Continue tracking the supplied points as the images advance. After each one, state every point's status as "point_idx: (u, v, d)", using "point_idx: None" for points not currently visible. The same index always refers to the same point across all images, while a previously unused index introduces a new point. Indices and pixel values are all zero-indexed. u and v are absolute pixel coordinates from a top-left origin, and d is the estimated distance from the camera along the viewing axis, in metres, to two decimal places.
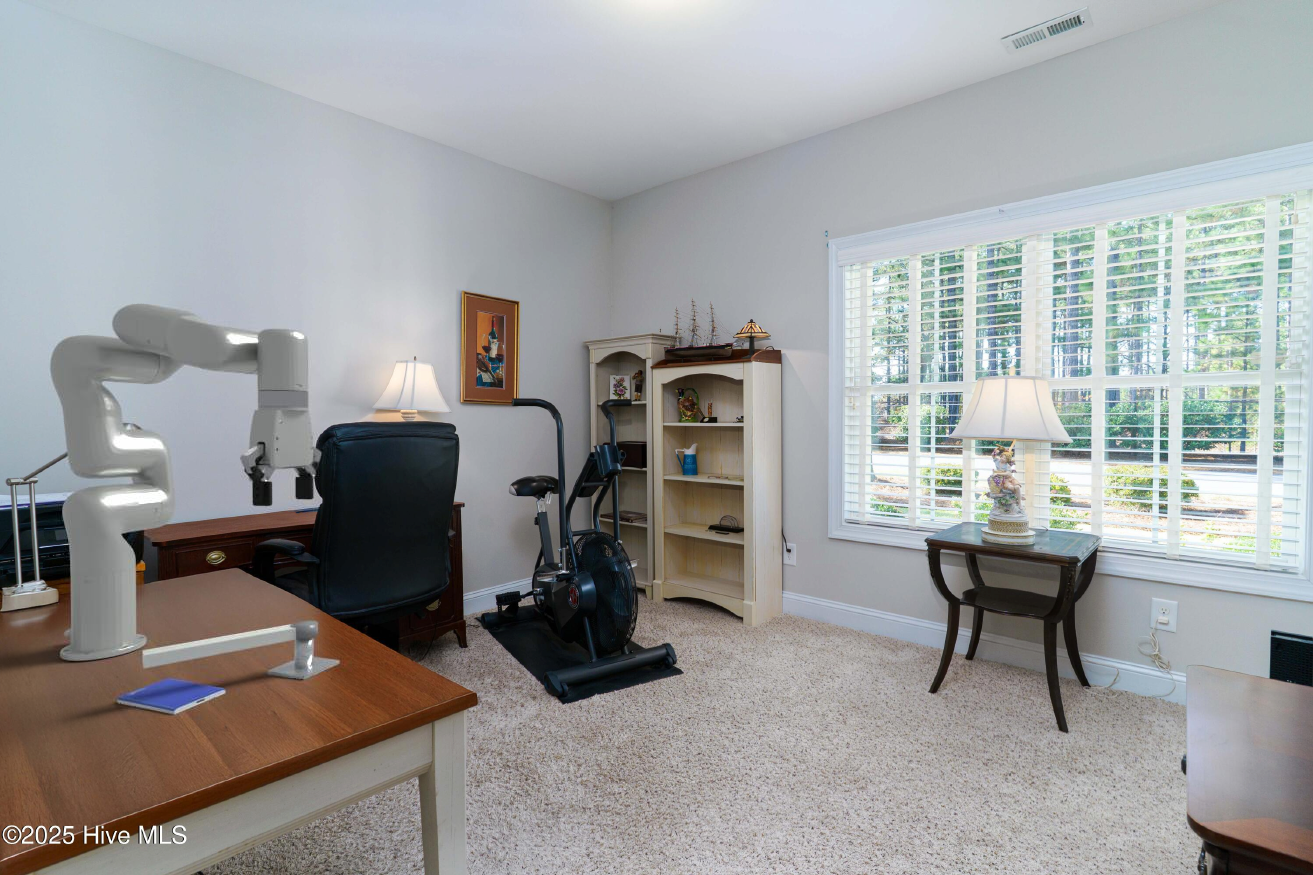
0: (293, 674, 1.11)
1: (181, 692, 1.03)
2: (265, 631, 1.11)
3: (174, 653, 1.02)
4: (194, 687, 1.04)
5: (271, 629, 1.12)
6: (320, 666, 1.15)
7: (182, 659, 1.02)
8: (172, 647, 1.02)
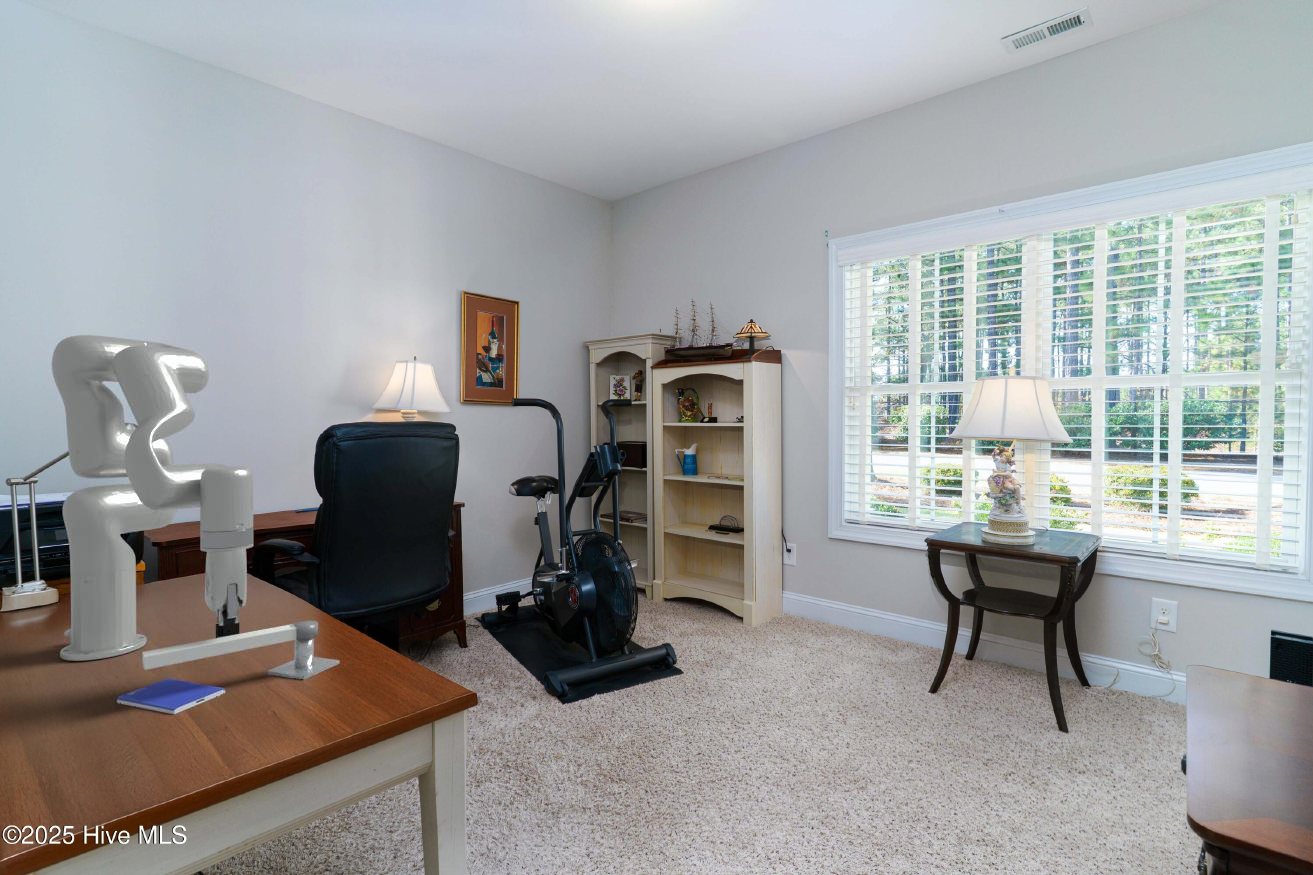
0: (293, 674, 1.11)
1: (181, 691, 1.03)
2: (265, 631, 1.11)
3: (175, 654, 1.01)
4: (194, 687, 1.04)
5: (272, 630, 1.12)
6: (320, 666, 1.15)
7: (183, 660, 1.02)
8: (172, 649, 1.02)
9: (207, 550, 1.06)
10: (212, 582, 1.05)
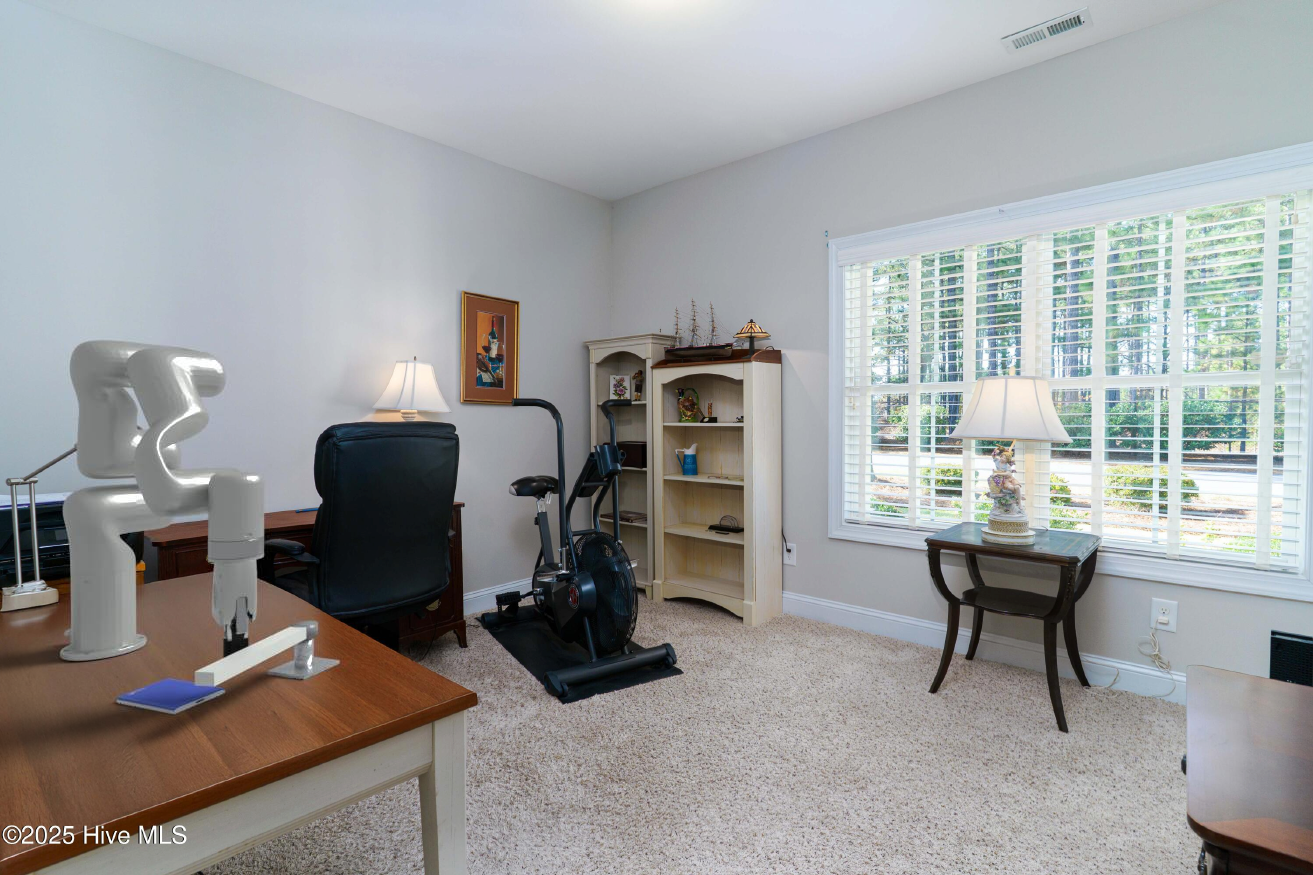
0: (293, 674, 1.11)
1: (181, 691, 1.03)
2: (282, 635, 1.09)
3: (233, 666, 0.96)
4: (194, 687, 1.04)
5: (284, 633, 1.10)
6: (320, 666, 1.15)
7: (239, 671, 0.97)
8: (224, 662, 0.96)
9: (215, 561, 1.00)
10: (220, 595, 0.99)
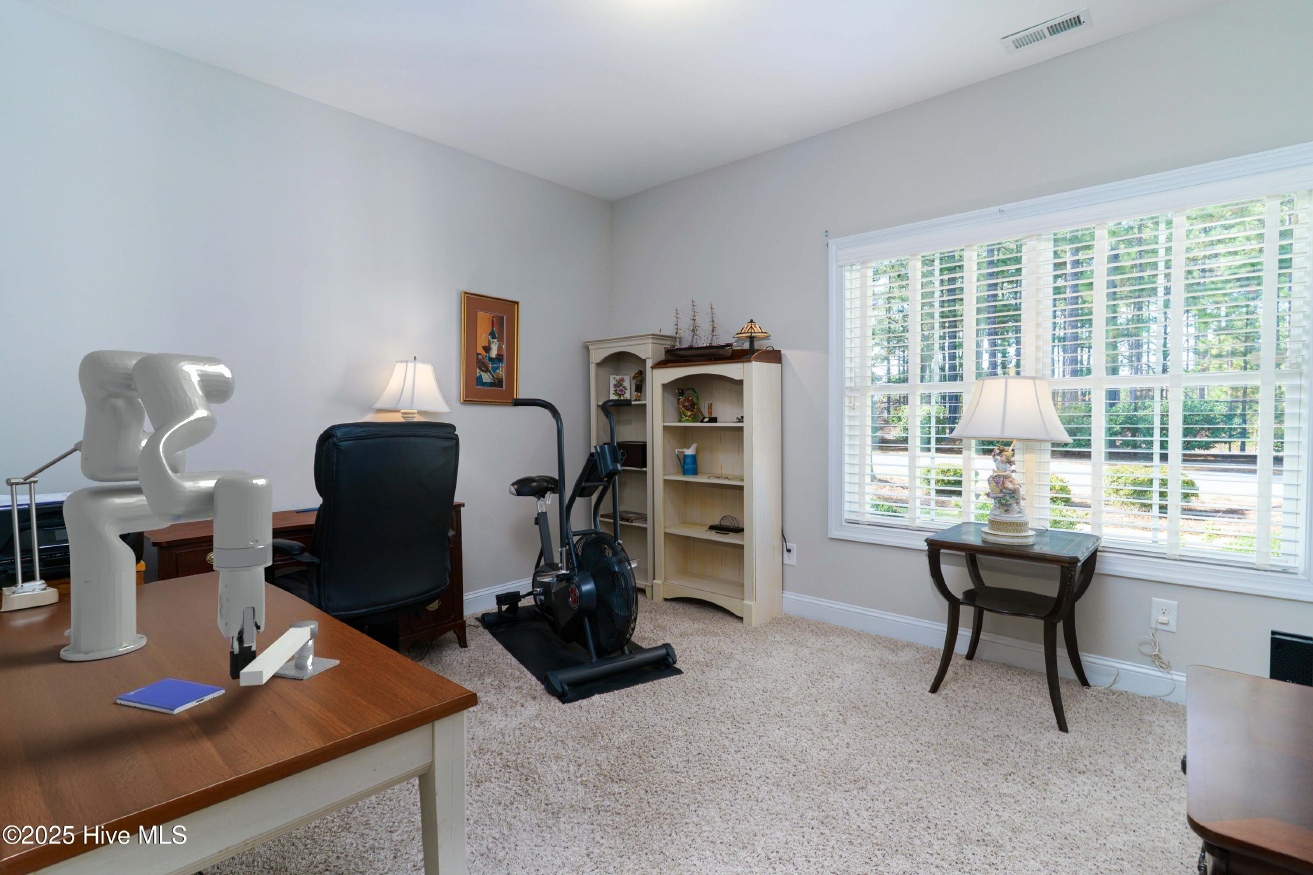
0: (293, 674, 1.11)
1: (181, 691, 1.03)
2: (293, 634, 1.09)
3: (273, 664, 0.97)
4: (194, 687, 1.04)
5: (293, 633, 1.10)
6: (320, 666, 1.15)
7: (275, 670, 0.98)
8: (262, 662, 0.97)
9: (221, 569, 0.94)
10: (226, 606, 0.93)
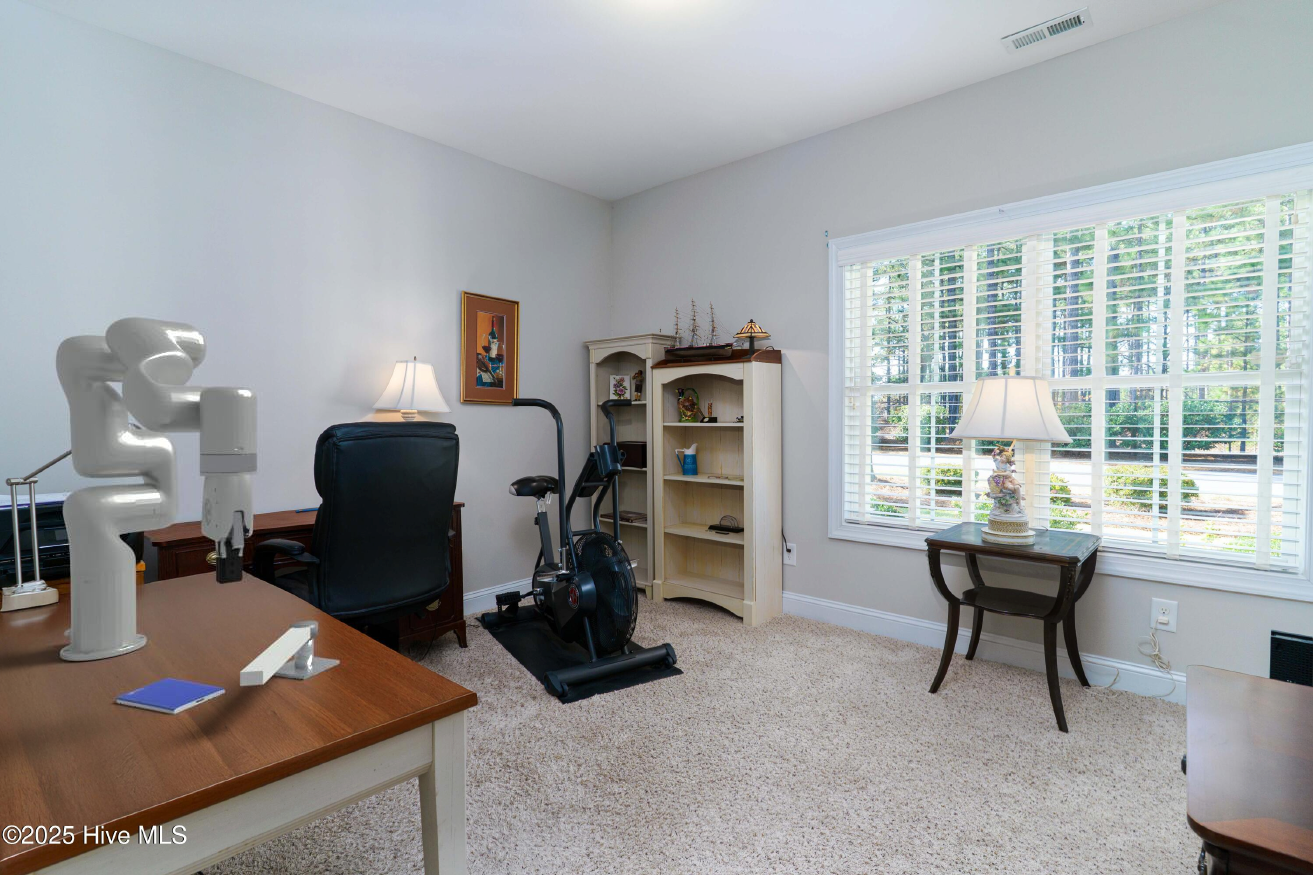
0: (293, 674, 1.11)
1: (181, 691, 1.03)
2: (293, 634, 1.09)
3: (273, 664, 0.97)
4: (194, 687, 1.04)
5: (293, 633, 1.10)
6: (320, 666, 1.15)
7: (275, 670, 0.98)
8: (263, 662, 0.97)
9: (209, 475, 0.98)
10: (216, 508, 0.97)
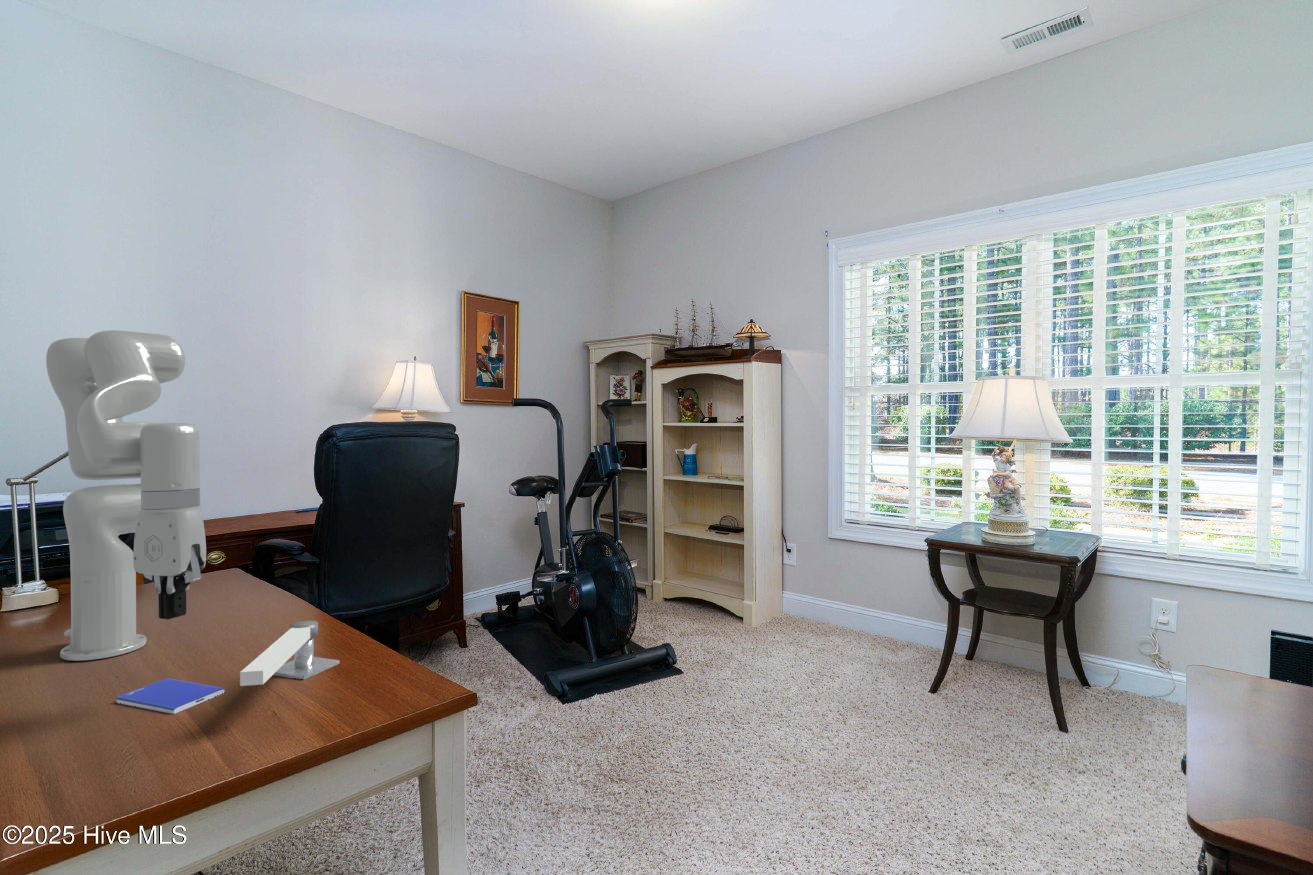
0: (293, 674, 1.11)
1: (181, 691, 1.03)
2: (293, 634, 1.09)
3: (273, 664, 0.97)
4: (193, 687, 1.04)
5: (293, 633, 1.10)
6: (320, 666, 1.15)
7: (275, 670, 0.98)
8: (263, 662, 0.97)
9: (161, 511, 0.99)
10: (173, 544, 0.99)
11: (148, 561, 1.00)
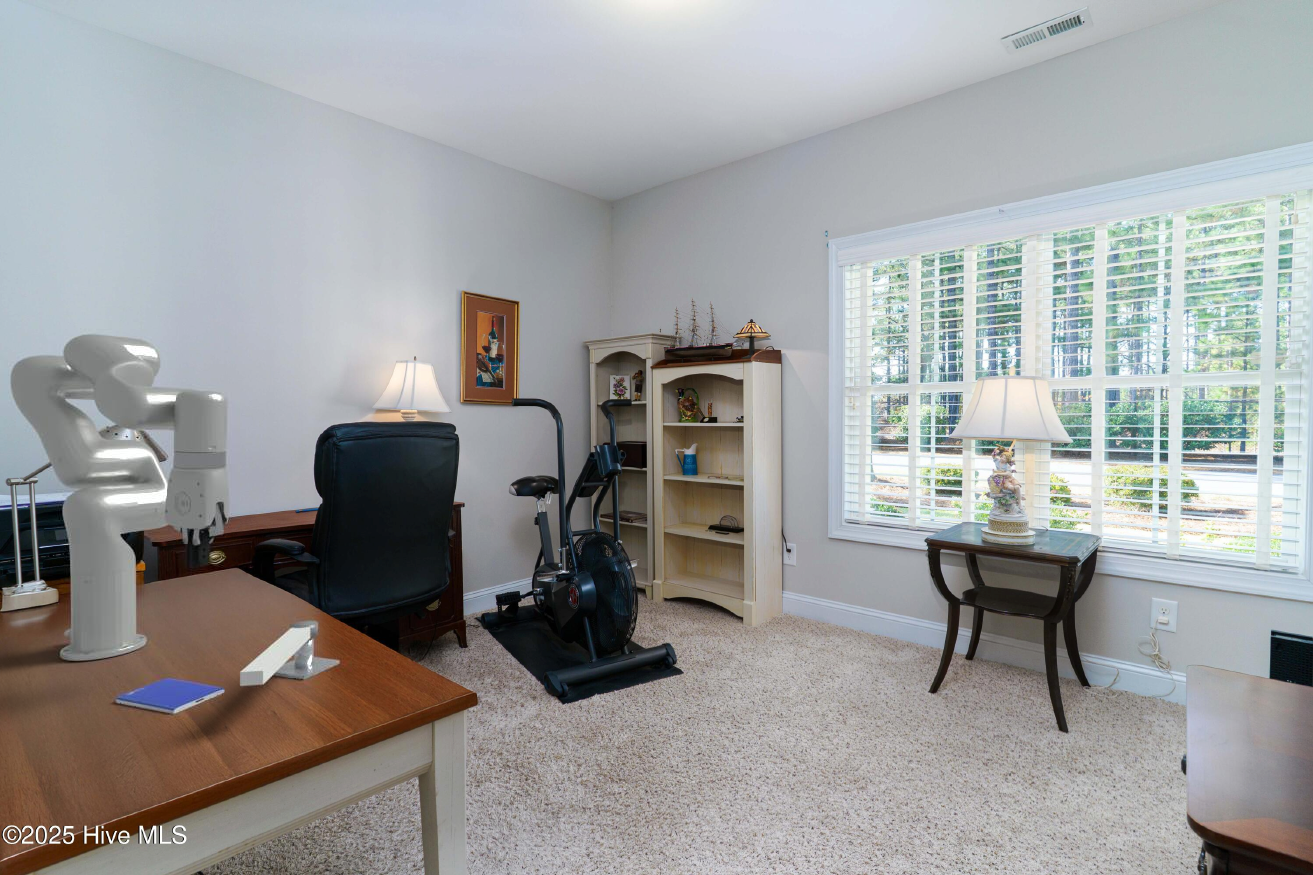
0: (293, 674, 1.11)
1: (180, 691, 1.03)
2: (293, 634, 1.09)
3: (273, 664, 0.97)
4: (193, 687, 1.04)
5: (293, 633, 1.10)
6: (320, 666, 1.15)
7: (275, 670, 0.98)
8: (263, 662, 0.97)
9: (191, 470, 1.09)
10: (200, 500, 1.09)
11: (177, 514, 1.11)
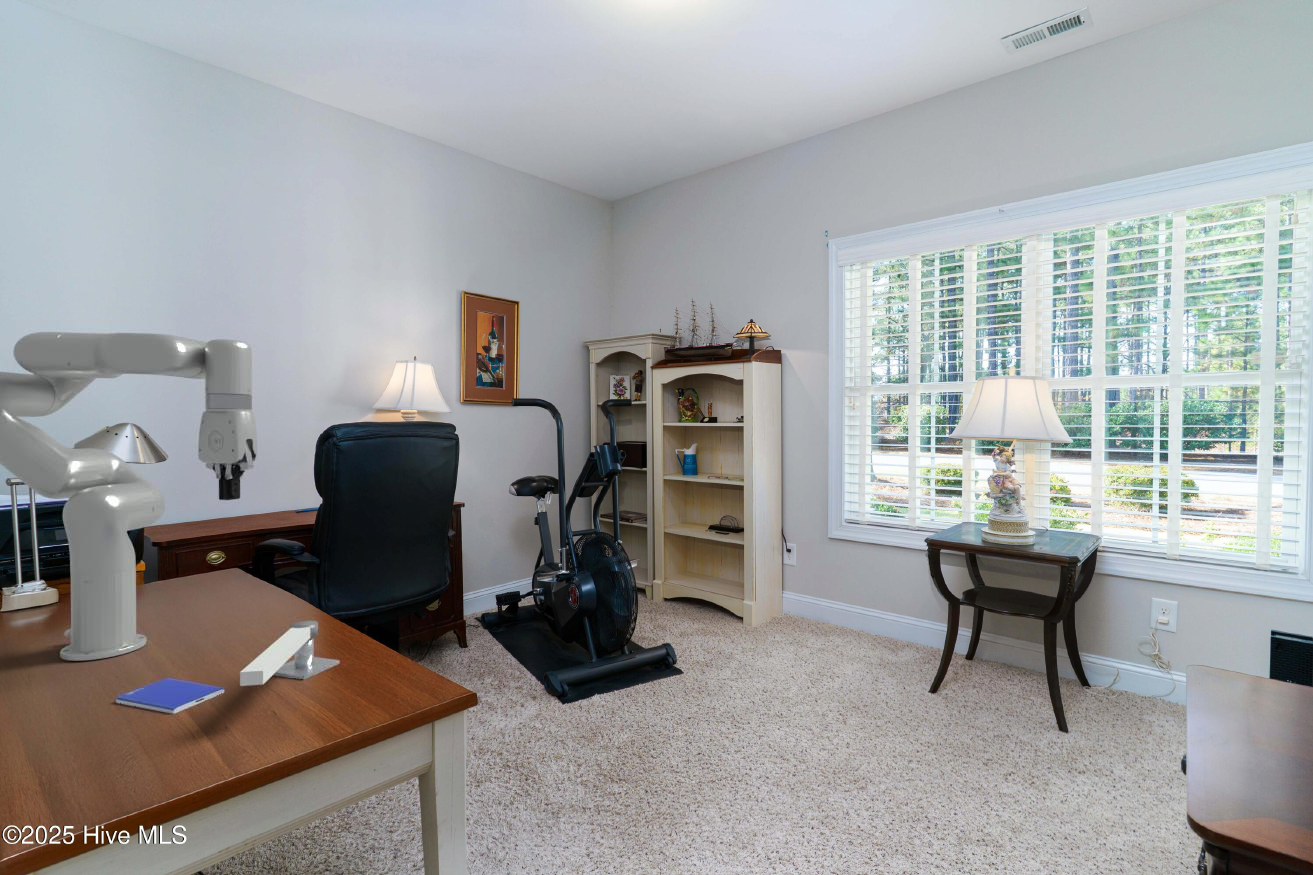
0: (293, 674, 1.11)
1: (180, 691, 1.03)
2: (293, 634, 1.09)
3: (273, 664, 0.97)
4: (193, 687, 1.04)
5: (293, 633, 1.10)
6: (320, 666, 1.15)
7: (275, 670, 0.98)
8: (263, 662, 0.97)
9: (222, 410, 1.21)
10: (232, 437, 1.21)
11: (211, 452, 1.22)
